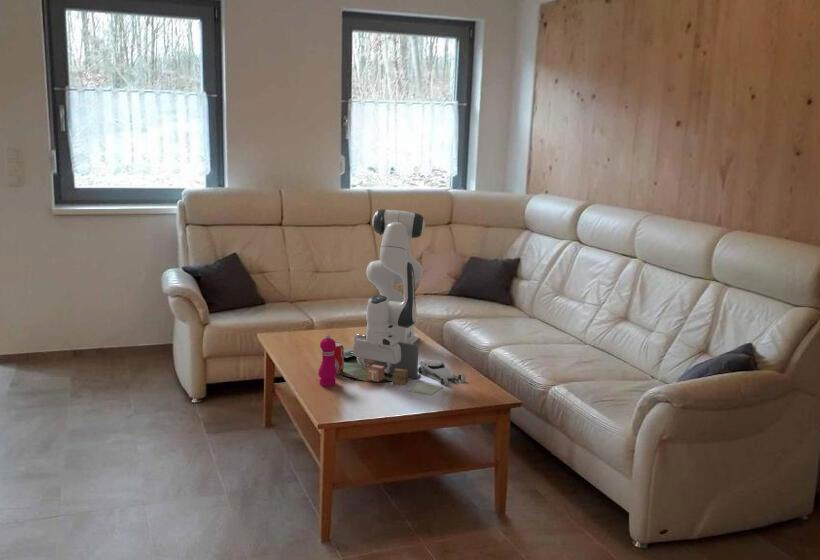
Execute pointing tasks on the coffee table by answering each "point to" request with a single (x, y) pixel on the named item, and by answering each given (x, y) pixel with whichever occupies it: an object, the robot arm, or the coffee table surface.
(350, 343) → the coffee table surface
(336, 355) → the soda can
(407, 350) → the screen
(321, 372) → the pepper mill
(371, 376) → the letter block
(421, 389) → the felt mat
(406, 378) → the walnut block
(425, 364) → the car model
